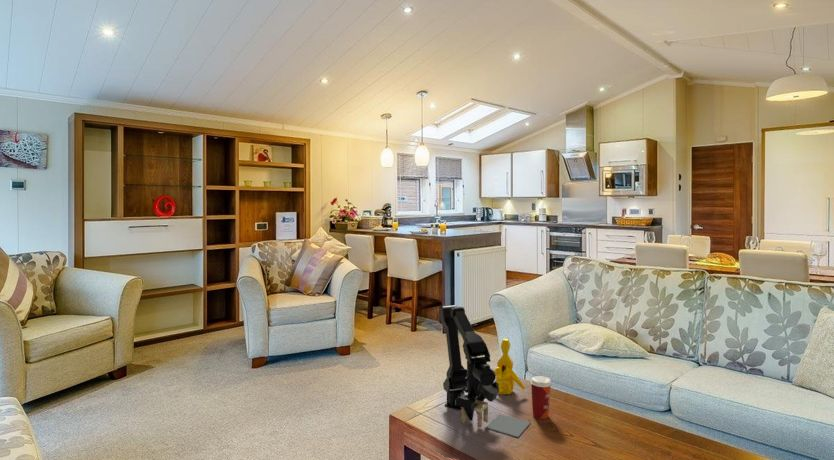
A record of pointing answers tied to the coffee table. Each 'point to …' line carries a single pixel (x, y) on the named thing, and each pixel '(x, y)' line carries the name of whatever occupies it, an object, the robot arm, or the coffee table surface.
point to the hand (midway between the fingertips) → (474, 417)
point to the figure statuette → (506, 371)
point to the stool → (478, 413)
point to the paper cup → (540, 396)
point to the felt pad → (508, 425)
